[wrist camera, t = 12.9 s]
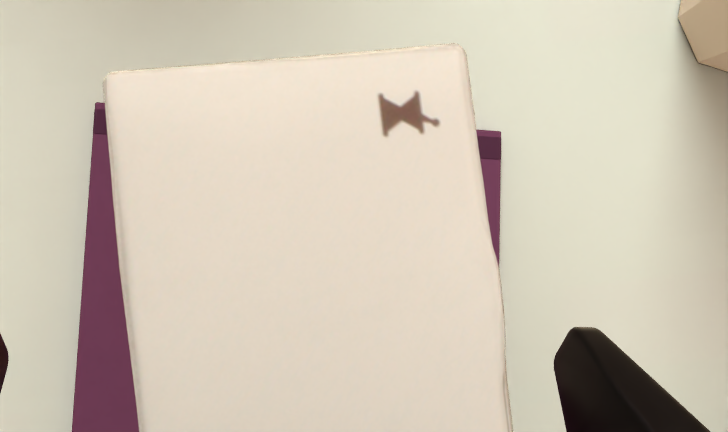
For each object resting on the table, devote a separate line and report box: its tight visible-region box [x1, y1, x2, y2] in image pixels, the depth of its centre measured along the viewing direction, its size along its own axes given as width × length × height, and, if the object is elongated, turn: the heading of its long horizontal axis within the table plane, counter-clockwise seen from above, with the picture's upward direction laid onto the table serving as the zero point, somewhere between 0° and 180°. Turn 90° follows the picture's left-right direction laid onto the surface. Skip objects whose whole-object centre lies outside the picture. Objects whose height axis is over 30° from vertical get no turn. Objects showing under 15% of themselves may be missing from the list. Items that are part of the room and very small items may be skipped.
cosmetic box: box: [103, 43, 513, 432], centre depth 12 cm, size 6×4×12 cm
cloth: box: [72, 102, 501, 432], centre depth 18 cm, size 18×13×1 cm
